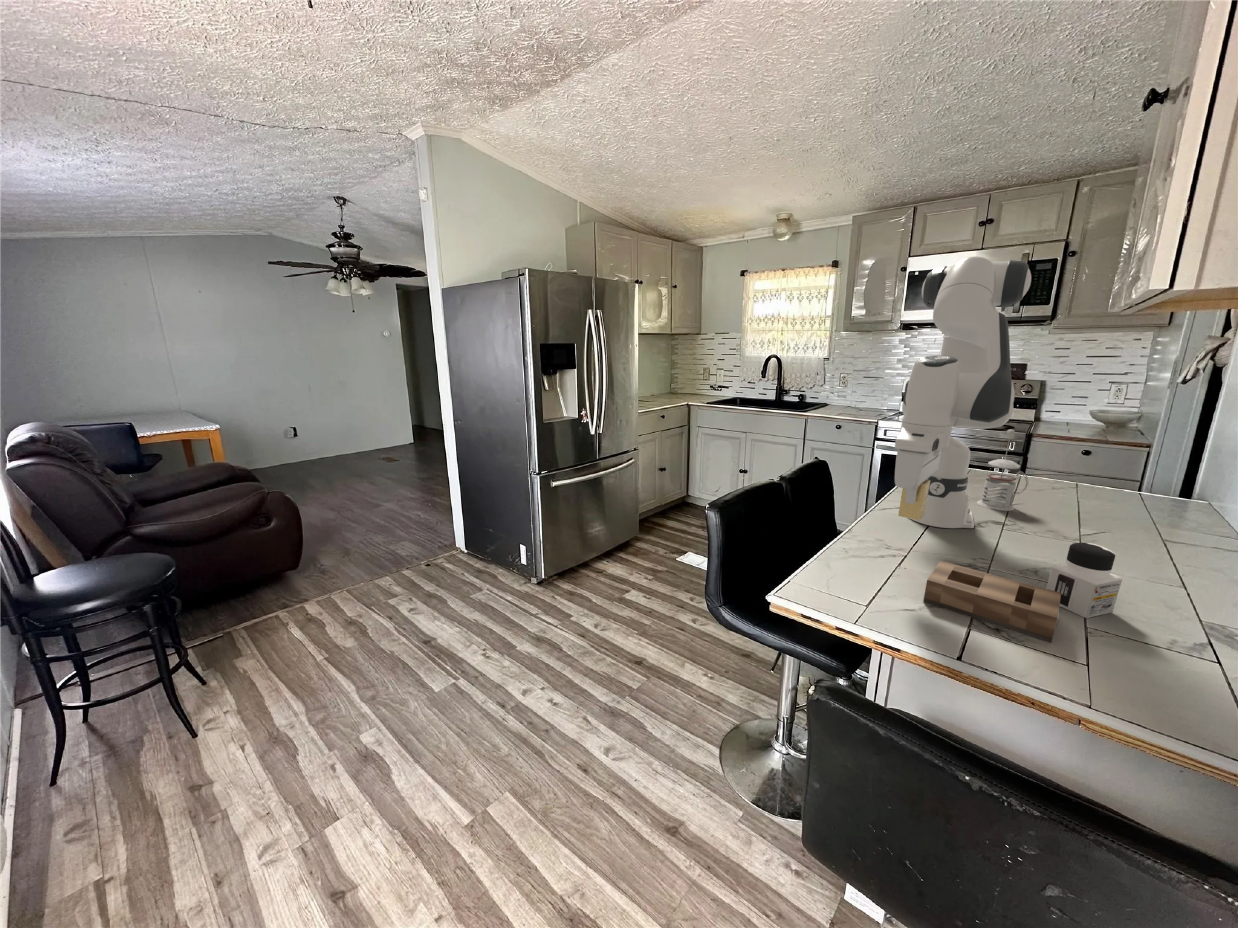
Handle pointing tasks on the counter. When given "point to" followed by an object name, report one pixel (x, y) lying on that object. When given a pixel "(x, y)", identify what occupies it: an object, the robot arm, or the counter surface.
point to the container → (1086, 580)
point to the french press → (1001, 485)
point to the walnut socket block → (994, 600)
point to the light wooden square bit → (919, 506)
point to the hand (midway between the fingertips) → (914, 499)
